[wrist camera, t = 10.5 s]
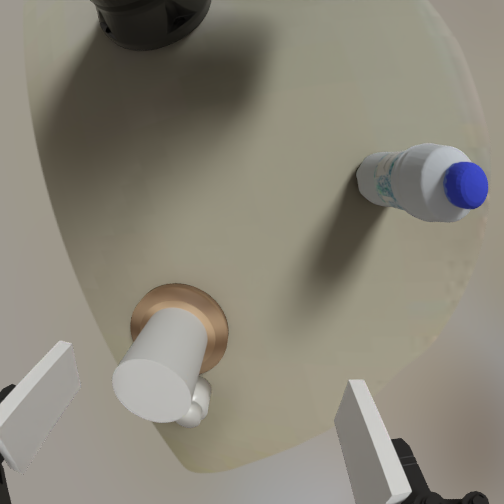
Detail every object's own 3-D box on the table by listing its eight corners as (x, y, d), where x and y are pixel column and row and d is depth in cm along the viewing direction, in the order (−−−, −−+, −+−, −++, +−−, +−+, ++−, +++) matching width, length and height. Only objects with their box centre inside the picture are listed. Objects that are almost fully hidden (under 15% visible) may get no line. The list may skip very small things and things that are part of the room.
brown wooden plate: (133, 278, 39) (127, 283, 37) (231, 288, 40) (230, 295, 37) (138, 361, 42) (134, 369, 40) (226, 372, 43) (224, 382, 40)
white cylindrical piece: (154, 363, 40) (126, 420, 28) (140, 309, 38) (101, 358, 26) (212, 361, 40) (198, 423, 28) (201, 305, 38) (181, 358, 26)
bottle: (381, 142, 35) (484, 121, 16) (407, 187, 36) (517, 204, 17) (340, 169, 36) (423, 167, 17) (368, 215, 37) (462, 255, 18)
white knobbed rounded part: (177, 372, 43) (167, 402, 36) (211, 376, 43) (205, 407, 36) (179, 397, 44) (169, 428, 37) (211, 401, 44) (205, 433, 37)
